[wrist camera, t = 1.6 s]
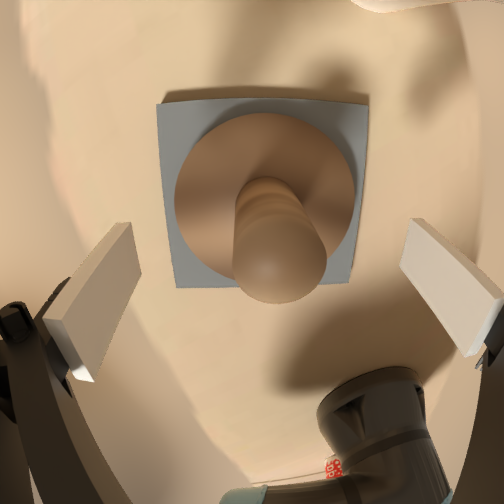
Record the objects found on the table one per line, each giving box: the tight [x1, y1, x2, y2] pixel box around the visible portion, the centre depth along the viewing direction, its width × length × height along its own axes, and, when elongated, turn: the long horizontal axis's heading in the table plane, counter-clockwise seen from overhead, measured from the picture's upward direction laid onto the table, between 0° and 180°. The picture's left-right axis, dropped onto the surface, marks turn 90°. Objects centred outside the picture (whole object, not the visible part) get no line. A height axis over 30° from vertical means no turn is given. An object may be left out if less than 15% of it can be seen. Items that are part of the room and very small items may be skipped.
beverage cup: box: [325, 455, 343, 479], centre depth 38 cm, size 6×6×14 cm
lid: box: [174, 113, 355, 304], centre depth 16 cm, size 12×12×9 cm
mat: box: [156, 98, 368, 288], centre depth 20 cm, size 14×14×1 cm
